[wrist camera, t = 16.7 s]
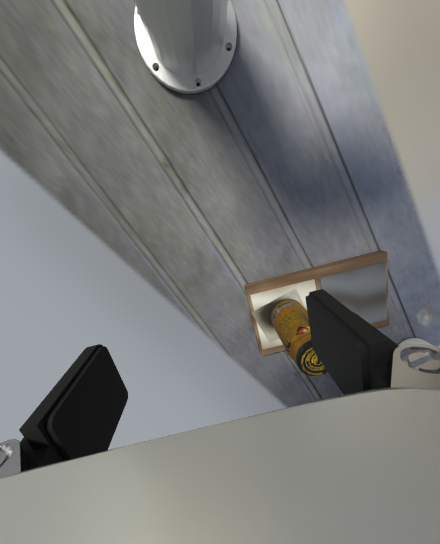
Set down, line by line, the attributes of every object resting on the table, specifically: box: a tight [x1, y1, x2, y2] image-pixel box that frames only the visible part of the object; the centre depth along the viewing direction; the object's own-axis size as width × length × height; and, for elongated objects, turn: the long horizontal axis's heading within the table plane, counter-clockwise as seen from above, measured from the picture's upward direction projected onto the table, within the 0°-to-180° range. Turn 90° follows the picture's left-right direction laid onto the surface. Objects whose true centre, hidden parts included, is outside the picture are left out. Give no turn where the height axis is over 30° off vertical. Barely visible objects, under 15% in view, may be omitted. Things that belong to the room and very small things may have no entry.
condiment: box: [251, 289, 328, 376], centre depth 35 cm, size 7×8×12 cm
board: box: [244, 251, 389, 356], centre depth 41 cm, size 14×24×2 cm, turn 104°
